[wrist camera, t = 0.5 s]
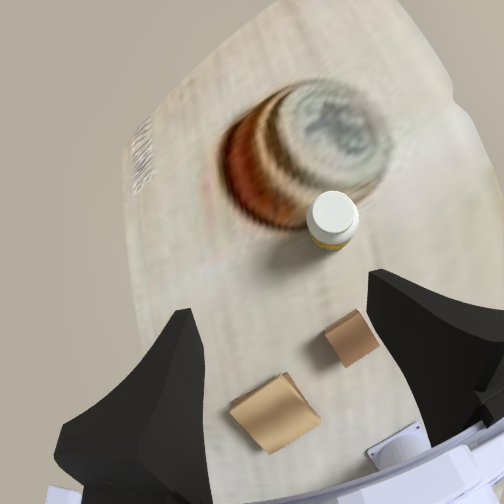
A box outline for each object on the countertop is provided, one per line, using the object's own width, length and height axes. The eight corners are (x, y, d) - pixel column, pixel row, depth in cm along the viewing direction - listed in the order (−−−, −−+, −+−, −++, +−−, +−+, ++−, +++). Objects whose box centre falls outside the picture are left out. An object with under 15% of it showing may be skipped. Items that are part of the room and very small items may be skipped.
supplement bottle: (361, 229, 35) (374, 212, 26) (330, 260, 36) (334, 253, 27) (330, 198, 37) (333, 172, 27) (299, 228, 37) (292, 211, 28)
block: (374, 338, 34) (380, 345, 30) (343, 358, 35) (345, 367, 31) (355, 308, 35) (360, 312, 31) (324, 329, 35) (324, 335, 32)
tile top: (320, 417, 33) (320, 423, 32) (271, 448, 34) (269, 455, 32) (280, 373, 35) (278, 377, 33) (233, 406, 36) (228, 412, 34)
